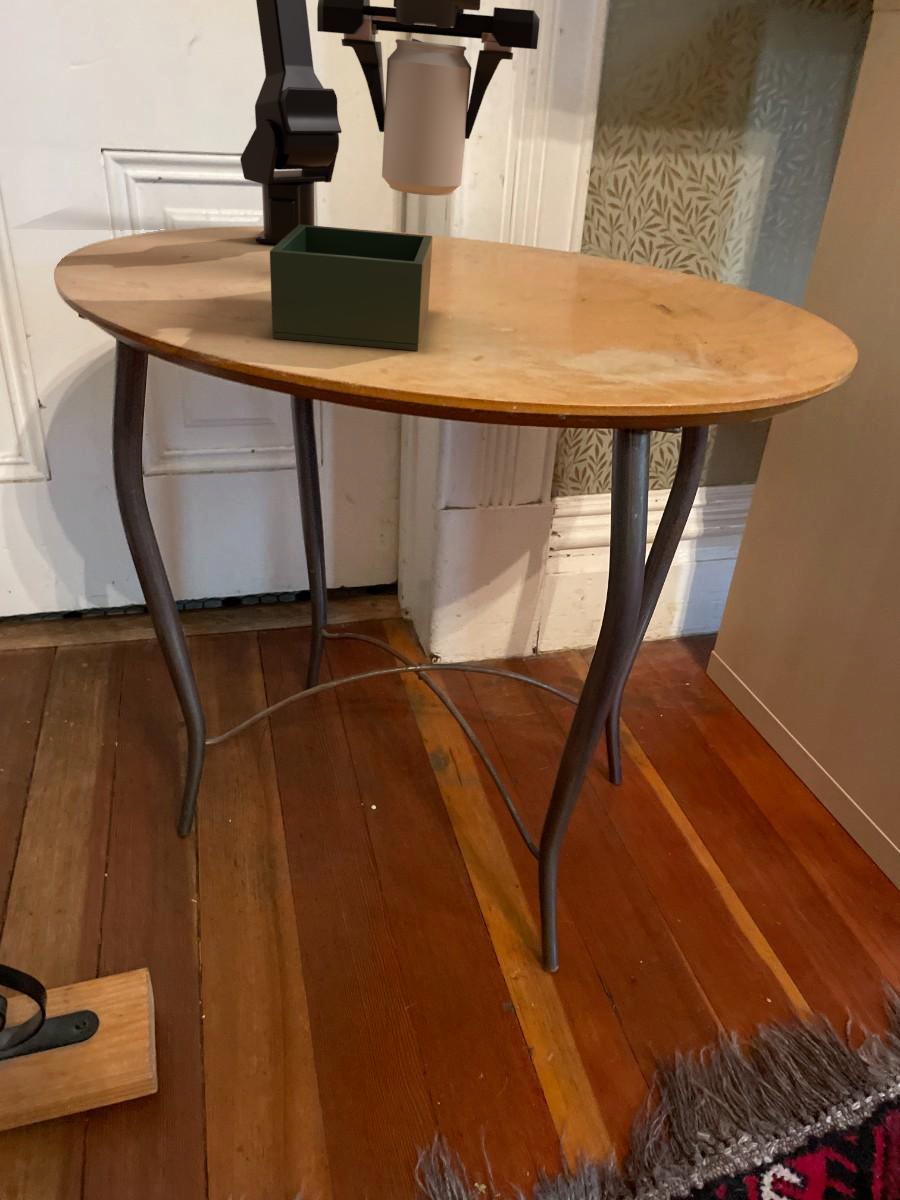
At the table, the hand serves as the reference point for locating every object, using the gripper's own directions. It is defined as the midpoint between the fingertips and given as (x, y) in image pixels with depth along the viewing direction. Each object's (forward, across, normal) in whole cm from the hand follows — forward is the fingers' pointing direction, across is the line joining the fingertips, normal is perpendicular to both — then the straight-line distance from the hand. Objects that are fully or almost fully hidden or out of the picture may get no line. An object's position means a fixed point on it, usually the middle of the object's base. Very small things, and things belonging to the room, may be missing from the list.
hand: (424, 135), depth 81 cm
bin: (+13, -4, -17) cm, 22 cm away
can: (+5, 0, 0) cm, 5 cm away
